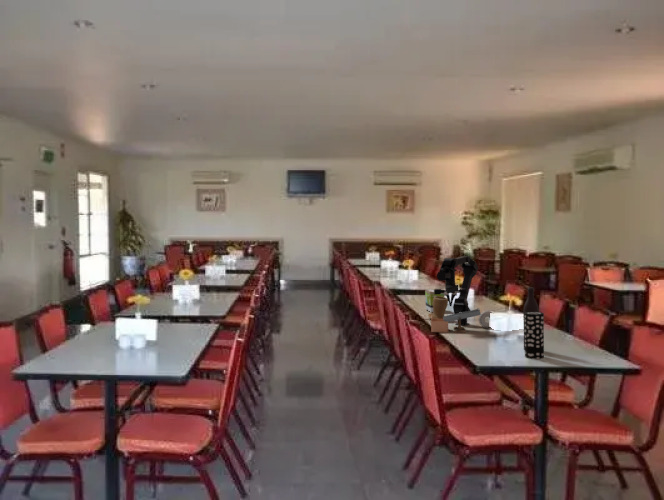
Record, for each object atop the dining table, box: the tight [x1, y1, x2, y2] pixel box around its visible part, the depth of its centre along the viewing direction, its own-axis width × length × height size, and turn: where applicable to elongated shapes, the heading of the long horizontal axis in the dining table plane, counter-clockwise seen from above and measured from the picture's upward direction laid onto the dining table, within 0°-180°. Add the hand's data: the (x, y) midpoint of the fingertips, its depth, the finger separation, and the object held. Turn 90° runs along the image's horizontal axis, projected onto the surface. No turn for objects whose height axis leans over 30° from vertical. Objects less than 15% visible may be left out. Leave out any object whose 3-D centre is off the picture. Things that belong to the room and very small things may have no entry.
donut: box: [478, 310, 493, 329], centre depth 390 cm, size 10×4×10 cm, turn 99°
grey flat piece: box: [443, 307, 482, 323], centre depth 386 cm, size 21×16×3 cm
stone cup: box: [427, 296, 449, 320], centre depth 425 cm, size 15×12×15 cm
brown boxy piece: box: [430, 315, 449, 333], centre depth 384 cm, size 10×11×8 cm
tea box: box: [424, 288, 445, 313], centre depth 466 cm, size 15×10×15 cm
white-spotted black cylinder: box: [524, 311, 545, 360], centre depth 305 cm, size 8×8×20 cm
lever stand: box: [453, 318, 466, 334], centre depth 382 cm, size 6×15×8 cm, turn 172°
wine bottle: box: [522, 287, 540, 351], centre depth 320 cm, size 7×7×30 cm
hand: (450, 306), depth 393 cm, fingers closed
